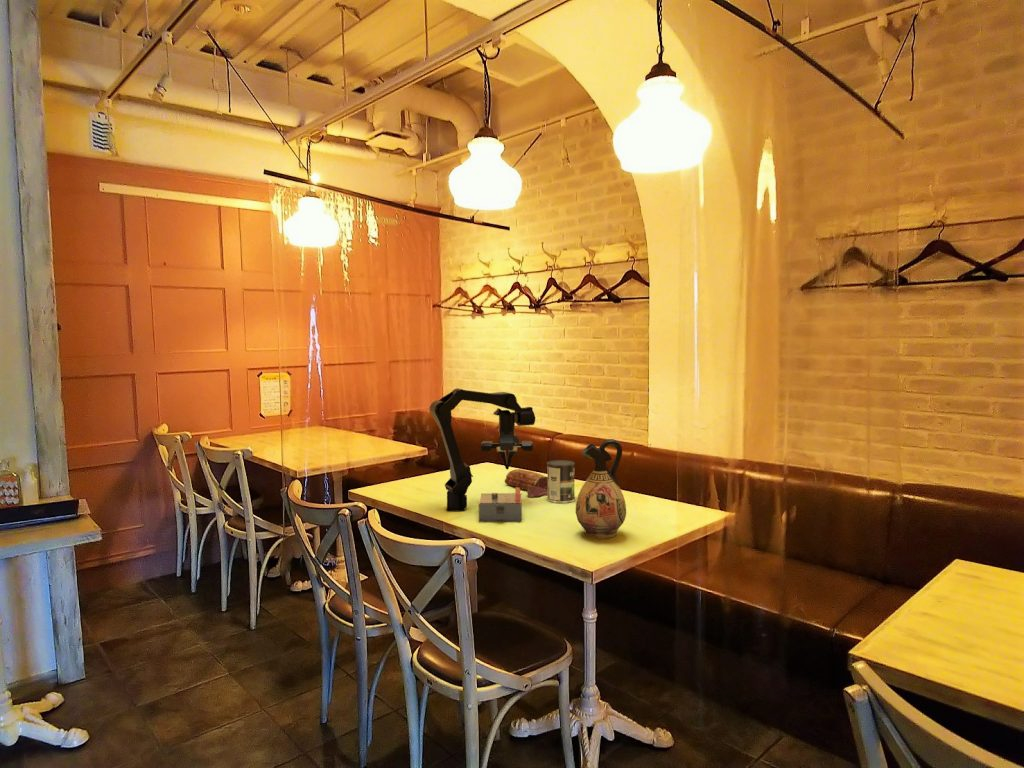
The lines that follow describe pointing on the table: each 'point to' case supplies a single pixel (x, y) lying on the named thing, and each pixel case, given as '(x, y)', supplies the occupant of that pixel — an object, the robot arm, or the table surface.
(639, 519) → the table surface
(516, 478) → the cured meat
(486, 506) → the grey box
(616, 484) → the ceramic jug
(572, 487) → the coffee can
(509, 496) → the lid
